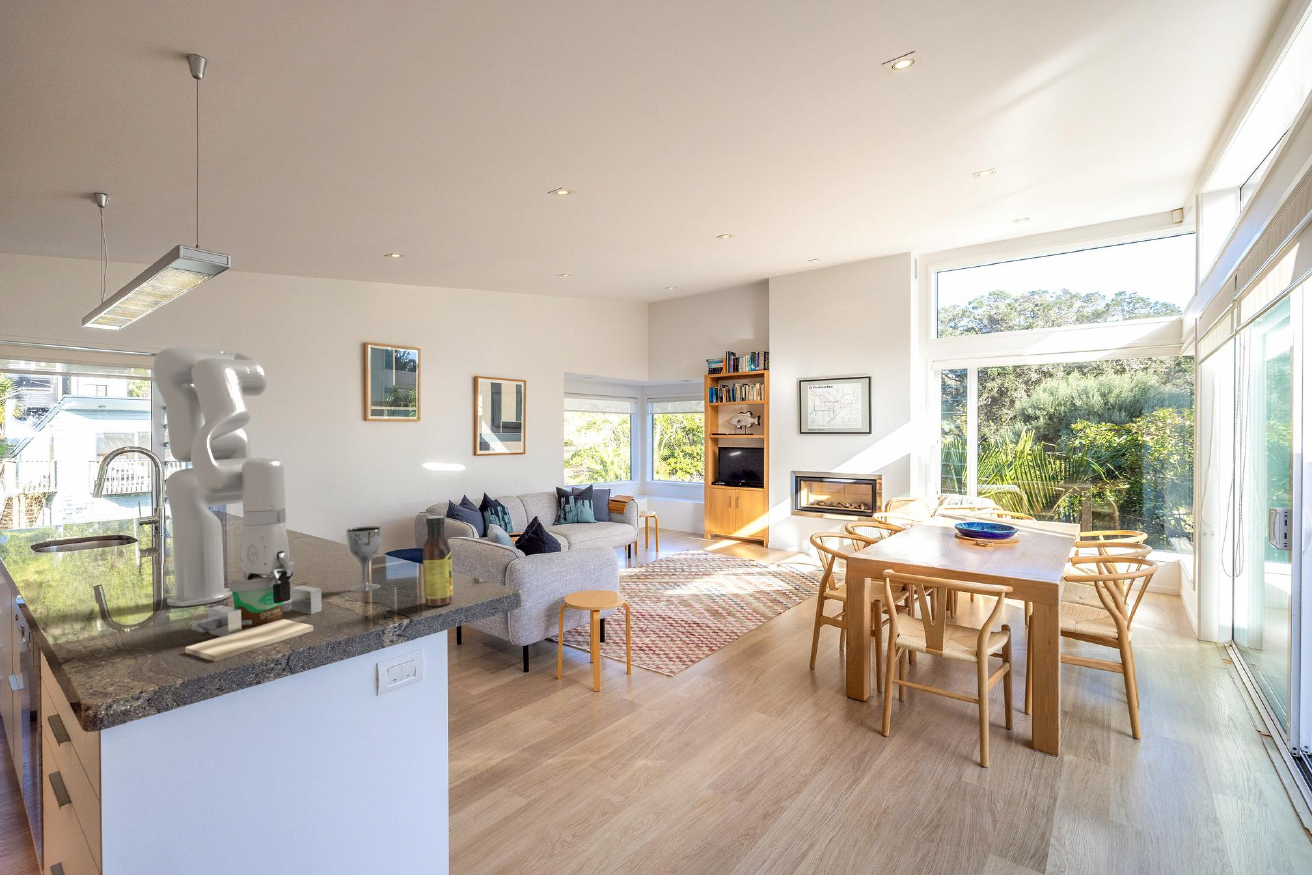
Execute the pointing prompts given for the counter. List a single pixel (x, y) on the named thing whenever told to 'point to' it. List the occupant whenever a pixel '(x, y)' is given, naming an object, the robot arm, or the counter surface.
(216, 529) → the robot arm
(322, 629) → the counter surface
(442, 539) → the sauce bottle
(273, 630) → the light wood flat board
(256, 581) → the food container
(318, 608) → the vise
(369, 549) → the wine glass
